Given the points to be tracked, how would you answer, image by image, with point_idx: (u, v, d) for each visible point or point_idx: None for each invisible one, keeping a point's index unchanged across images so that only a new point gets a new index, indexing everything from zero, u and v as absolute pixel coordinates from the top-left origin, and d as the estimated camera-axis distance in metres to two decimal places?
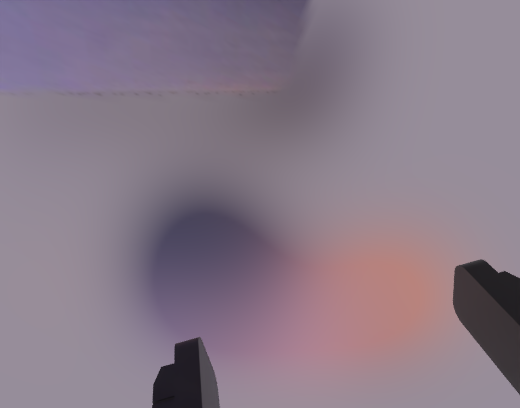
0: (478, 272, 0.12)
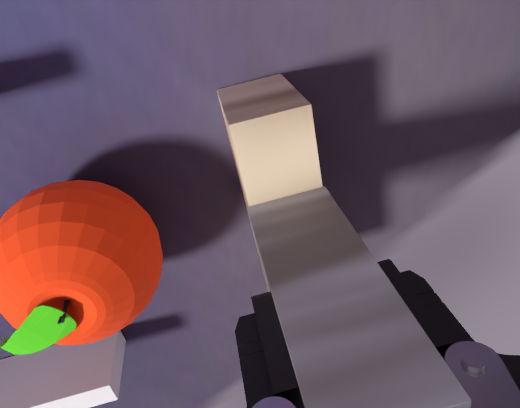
0: None
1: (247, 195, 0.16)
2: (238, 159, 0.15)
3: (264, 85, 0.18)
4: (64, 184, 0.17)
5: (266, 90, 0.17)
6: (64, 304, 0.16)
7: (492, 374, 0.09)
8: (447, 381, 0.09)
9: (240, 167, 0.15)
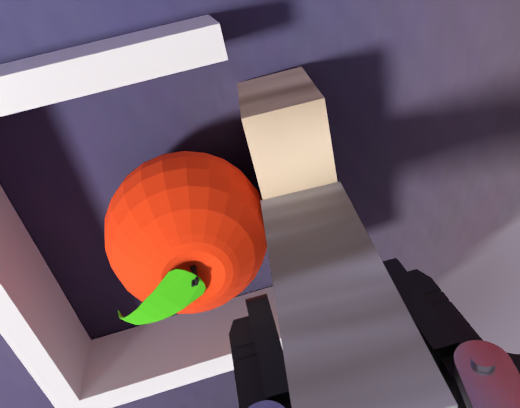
0: (389, 270, 0.13)
1: (261, 188, 0.16)
2: (251, 153, 0.15)
3: (282, 78, 0.18)
4: (176, 154, 0.17)
5: (284, 83, 0.17)
6: (192, 269, 0.16)
7: (502, 373, 0.09)
8: (435, 384, 0.09)
9: (253, 161, 0.16)
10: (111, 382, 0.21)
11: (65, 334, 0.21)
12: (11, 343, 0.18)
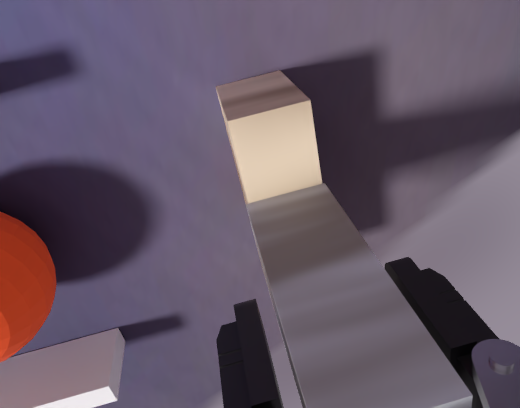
0: (402, 269, 0.12)
1: (246, 192, 0.16)
2: (237, 156, 0.15)
3: (263, 82, 0.18)
4: None
5: (266, 86, 0.17)
6: None
7: None
8: (448, 376, 0.09)
9: (239, 164, 0.15)
10: None
11: None
12: None
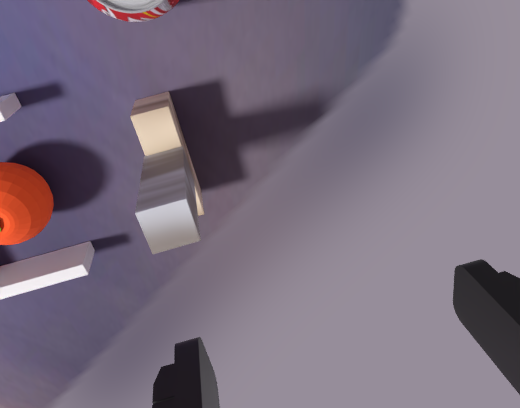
0: (478, 272, 0.12)
1: (143, 150, 0.34)
2: (137, 132, 0.33)
3: (157, 98, 0.35)
4: None
5: (156, 100, 0.35)
6: None
7: None
8: (182, 195, 0.26)
9: (138, 136, 0.33)
10: None
11: None
12: None
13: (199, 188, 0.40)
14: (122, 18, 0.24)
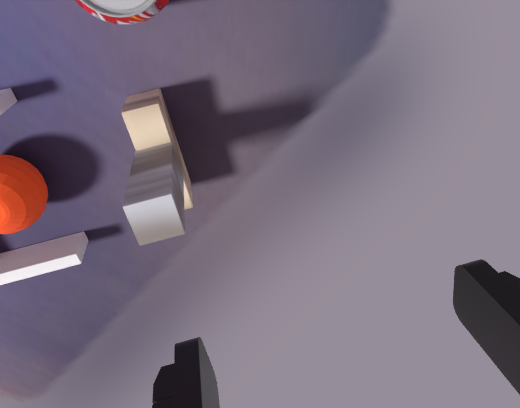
0: (478, 272, 0.12)
1: (134, 145, 0.35)
2: (128, 128, 0.34)
3: (148, 94, 0.37)
4: None
5: (147, 96, 0.36)
6: None
7: None
8: (167, 191, 0.27)
9: (129, 132, 0.34)
10: None
11: None
12: None
13: (189, 182, 0.42)
14: (111, 21, 0.25)
